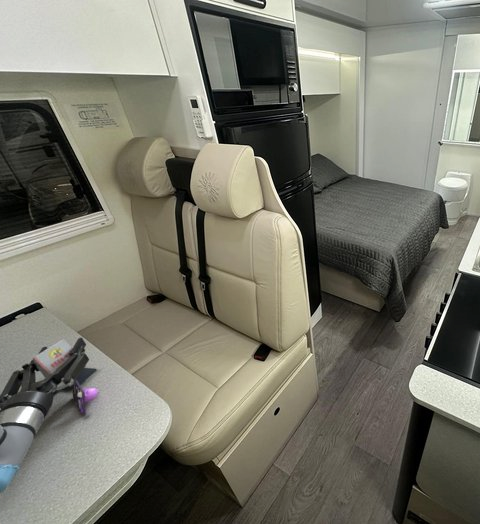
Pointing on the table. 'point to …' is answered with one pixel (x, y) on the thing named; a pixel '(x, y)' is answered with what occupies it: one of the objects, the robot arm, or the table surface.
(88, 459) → the table surface
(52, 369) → the white red carton
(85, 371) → the mat
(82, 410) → the purple knobbed frame
